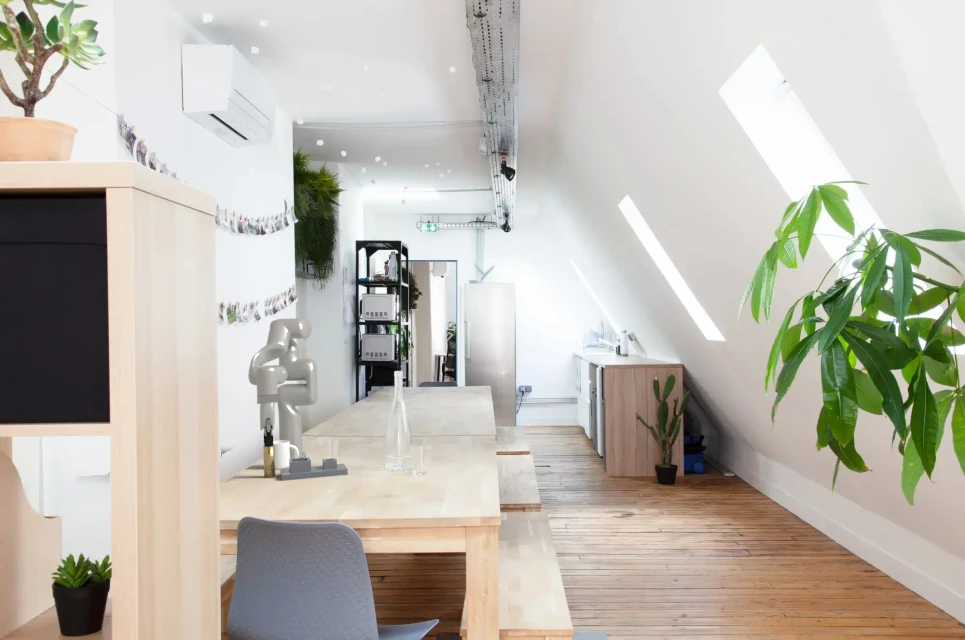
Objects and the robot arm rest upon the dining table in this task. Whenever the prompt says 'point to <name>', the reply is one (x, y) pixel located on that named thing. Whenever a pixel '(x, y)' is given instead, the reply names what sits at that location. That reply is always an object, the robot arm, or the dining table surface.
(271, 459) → the pipe stub
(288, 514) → the dining table surface
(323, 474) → the fitting block
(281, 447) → the mug
